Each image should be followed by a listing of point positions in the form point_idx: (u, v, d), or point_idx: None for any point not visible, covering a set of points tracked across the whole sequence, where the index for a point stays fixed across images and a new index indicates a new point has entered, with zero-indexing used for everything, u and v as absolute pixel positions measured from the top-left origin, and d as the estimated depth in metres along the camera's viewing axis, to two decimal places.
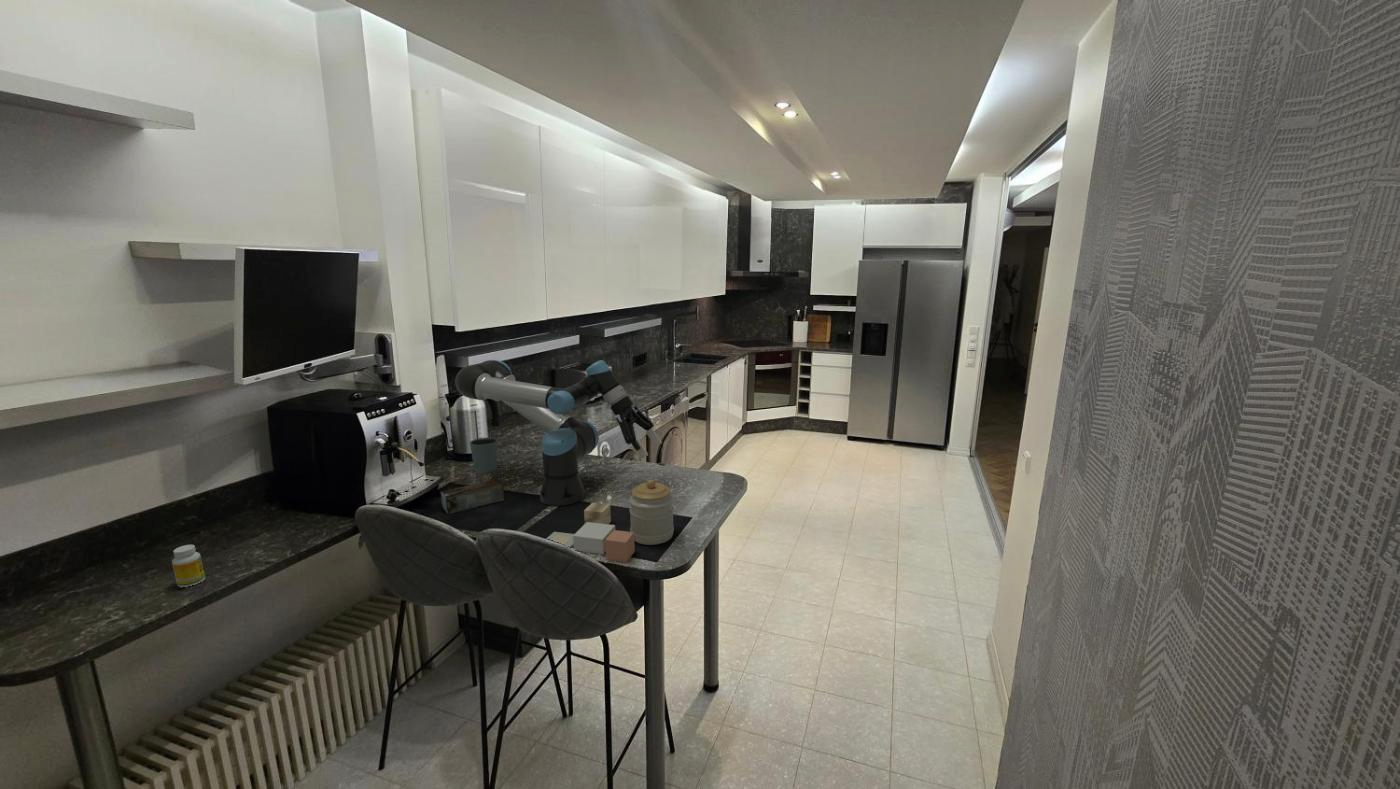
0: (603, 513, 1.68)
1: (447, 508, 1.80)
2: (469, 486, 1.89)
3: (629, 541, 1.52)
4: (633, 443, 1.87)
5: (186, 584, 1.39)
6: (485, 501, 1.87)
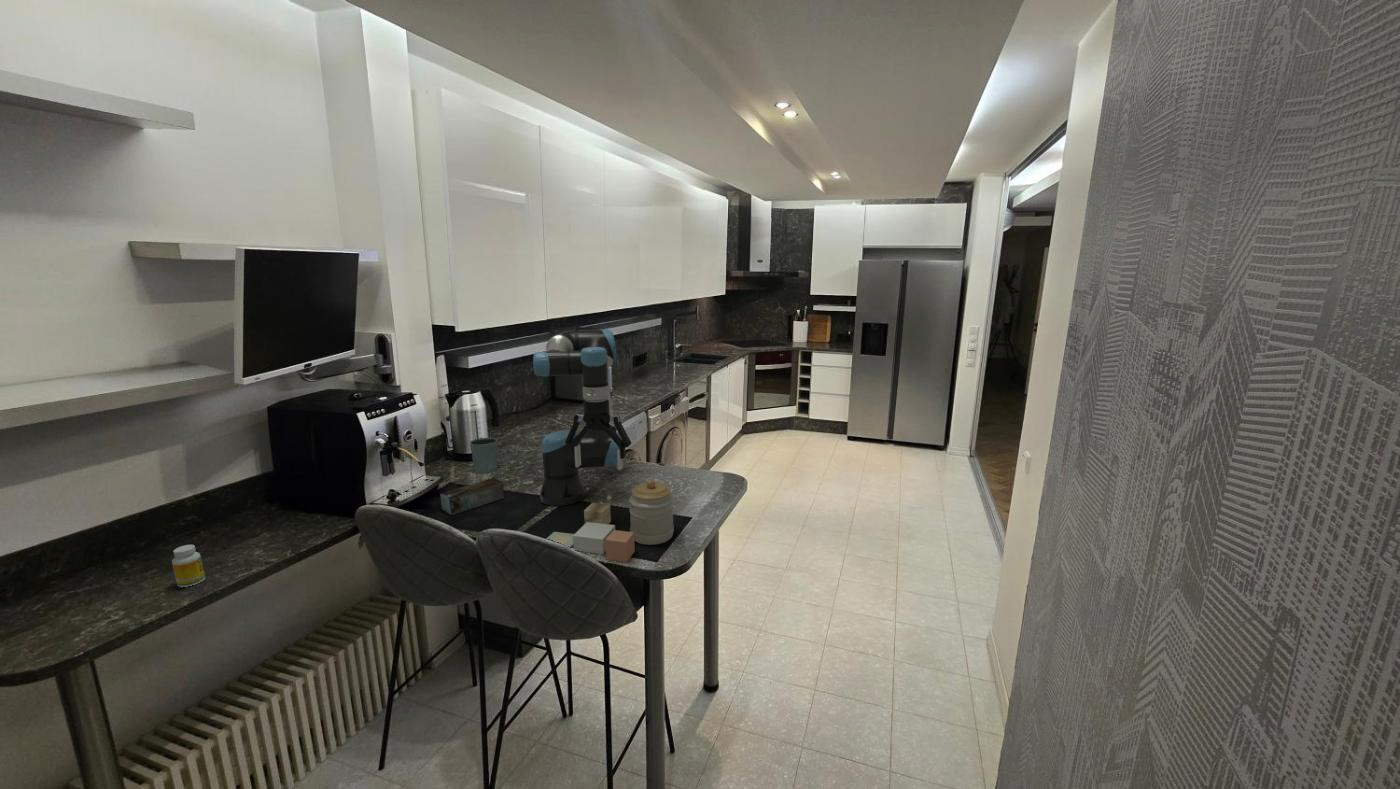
0: (603, 513, 1.68)
1: (451, 509, 1.79)
2: (468, 486, 1.88)
3: (629, 541, 1.52)
4: None
5: (186, 584, 1.39)
6: (487, 500, 1.88)
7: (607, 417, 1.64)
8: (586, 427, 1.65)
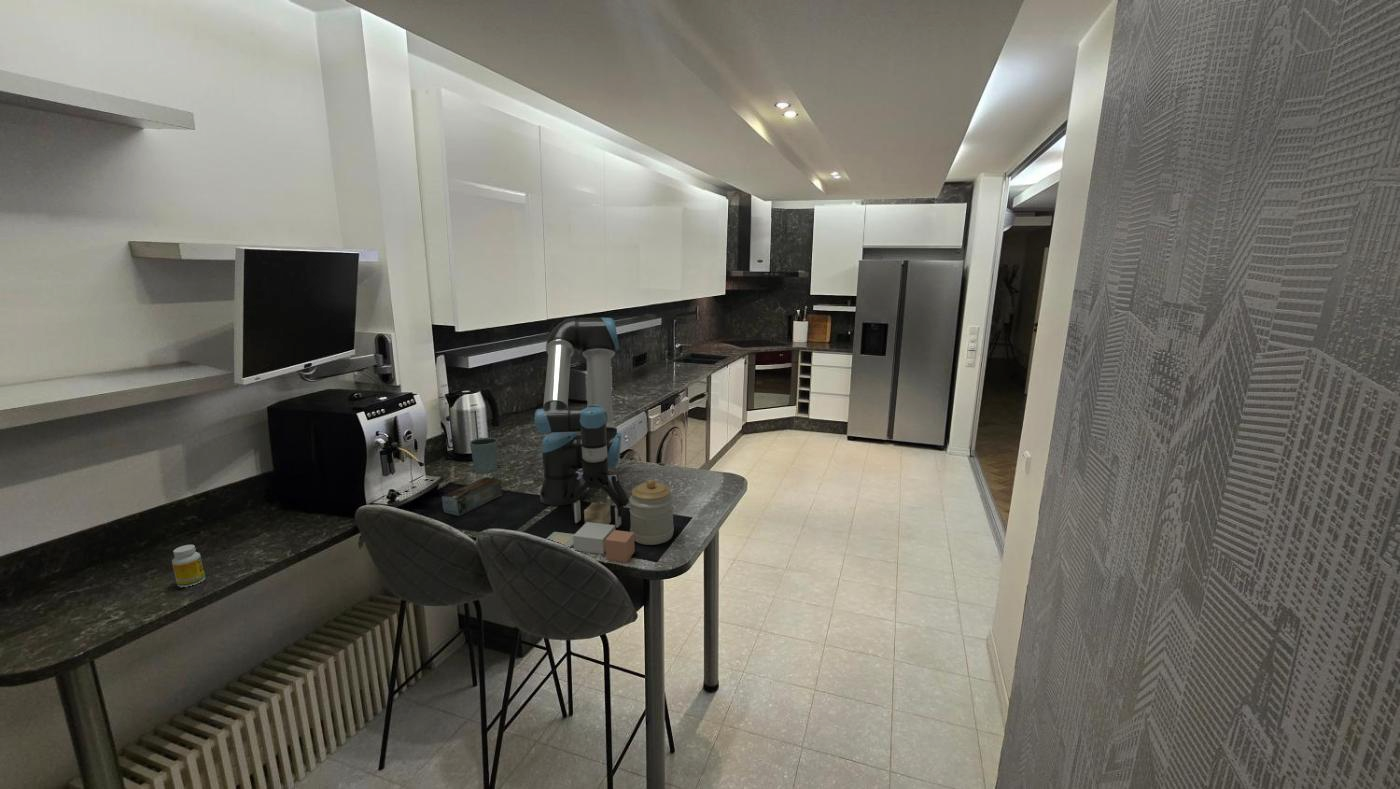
0: (603, 513, 1.68)
1: (458, 510, 1.79)
2: (466, 487, 1.88)
3: (629, 541, 1.52)
4: None
5: (186, 584, 1.39)
6: (488, 499, 1.89)
7: (605, 476, 1.67)
8: (585, 485, 1.68)
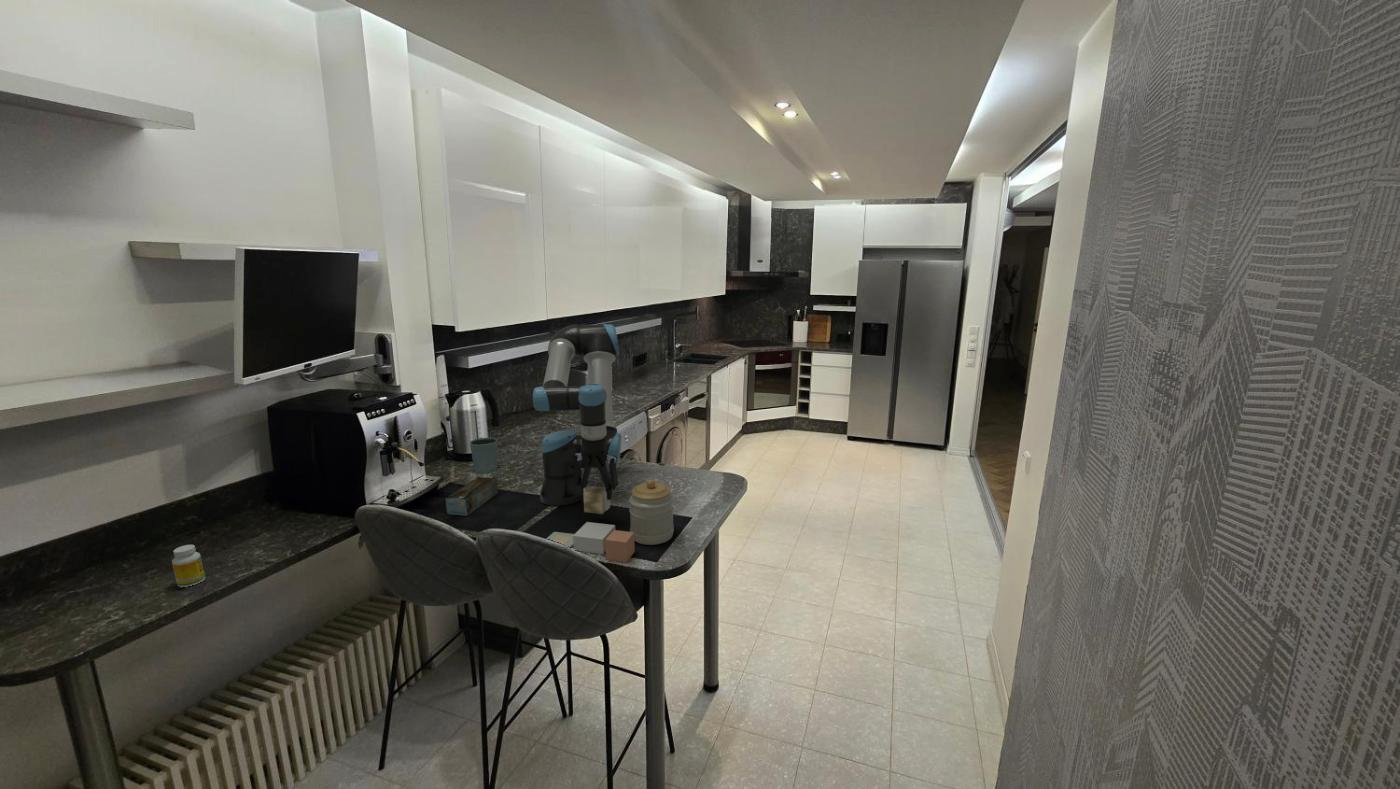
0: (602, 496, 1.68)
1: (467, 509, 1.79)
2: (465, 487, 1.87)
3: (629, 541, 1.52)
4: None
5: (186, 584, 1.39)
6: (488, 497, 1.90)
7: (605, 455, 1.66)
8: (586, 465, 1.67)
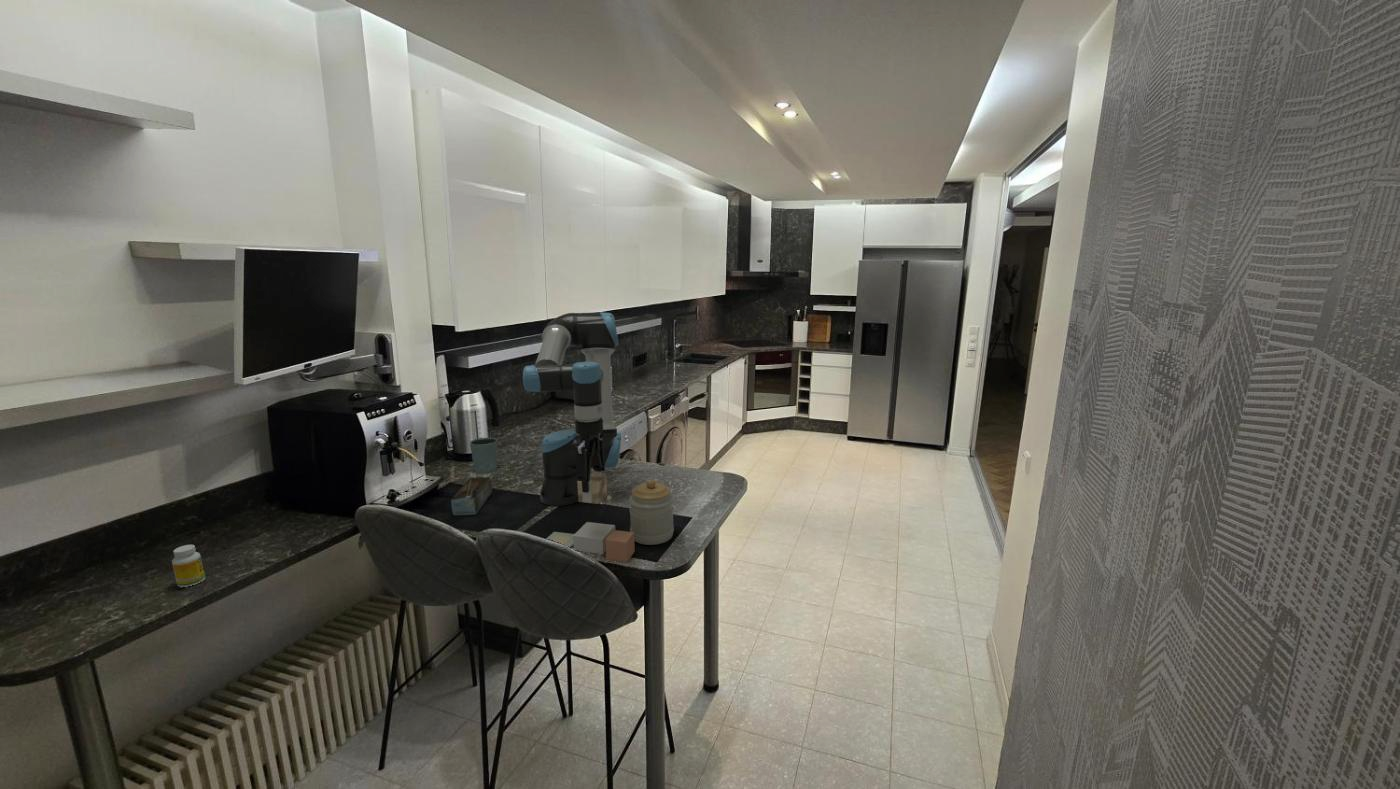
0: None
1: (475, 508, 1.80)
2: (465, 488, 1.87)
3: (629, 541, 1.52)
4: (584, 483, 1.51)
5: (186, 584, 1.39)
6: (487, 496, 1.92)
7: (598, 433, 1.56)
8: (593, 451, 1.51)
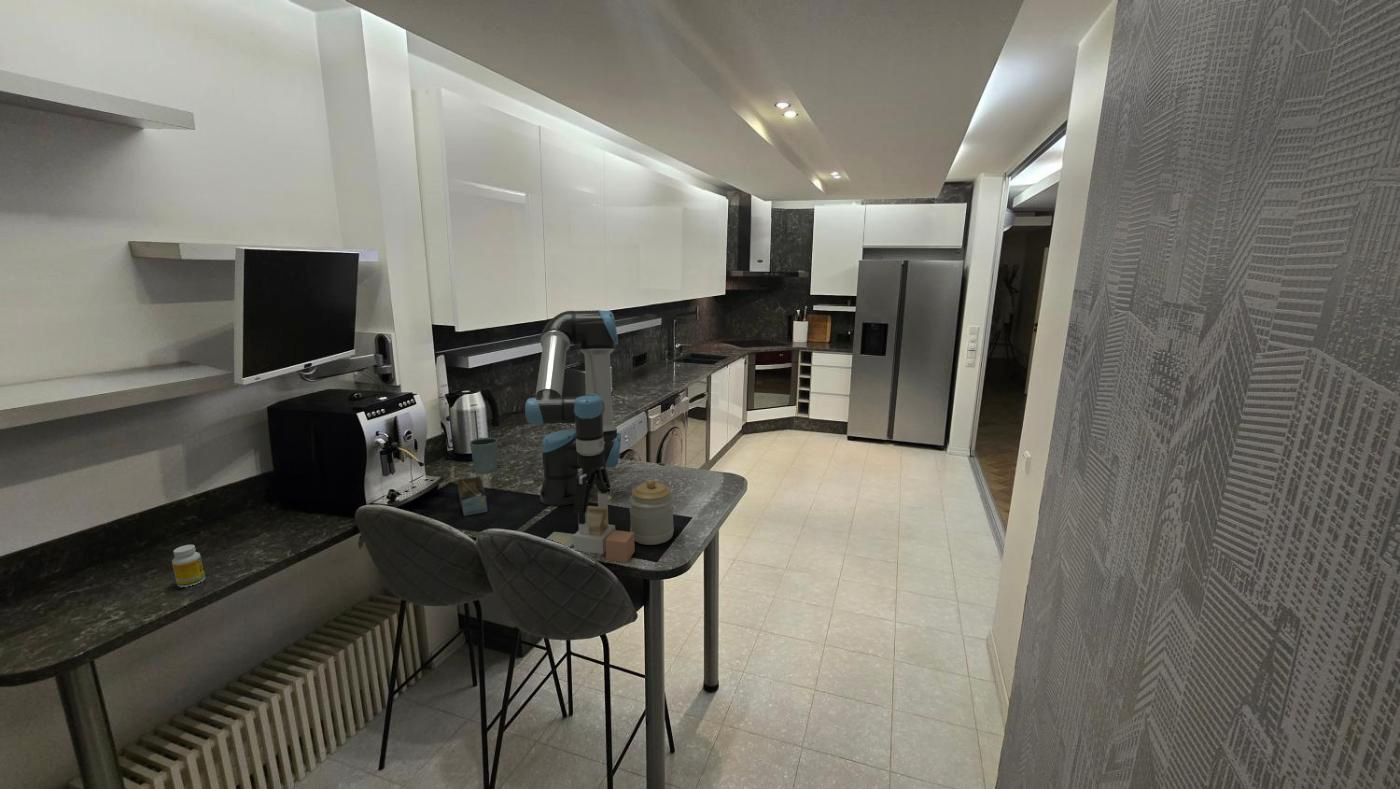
0: None
1: None
2: (464, 489, 1.86)
3: (629, 541, 1.52)
4: (580, 515, 1.50)
5: (186, 584, 1.39)
6: None
7: None
8: (593, 484, 1.53)
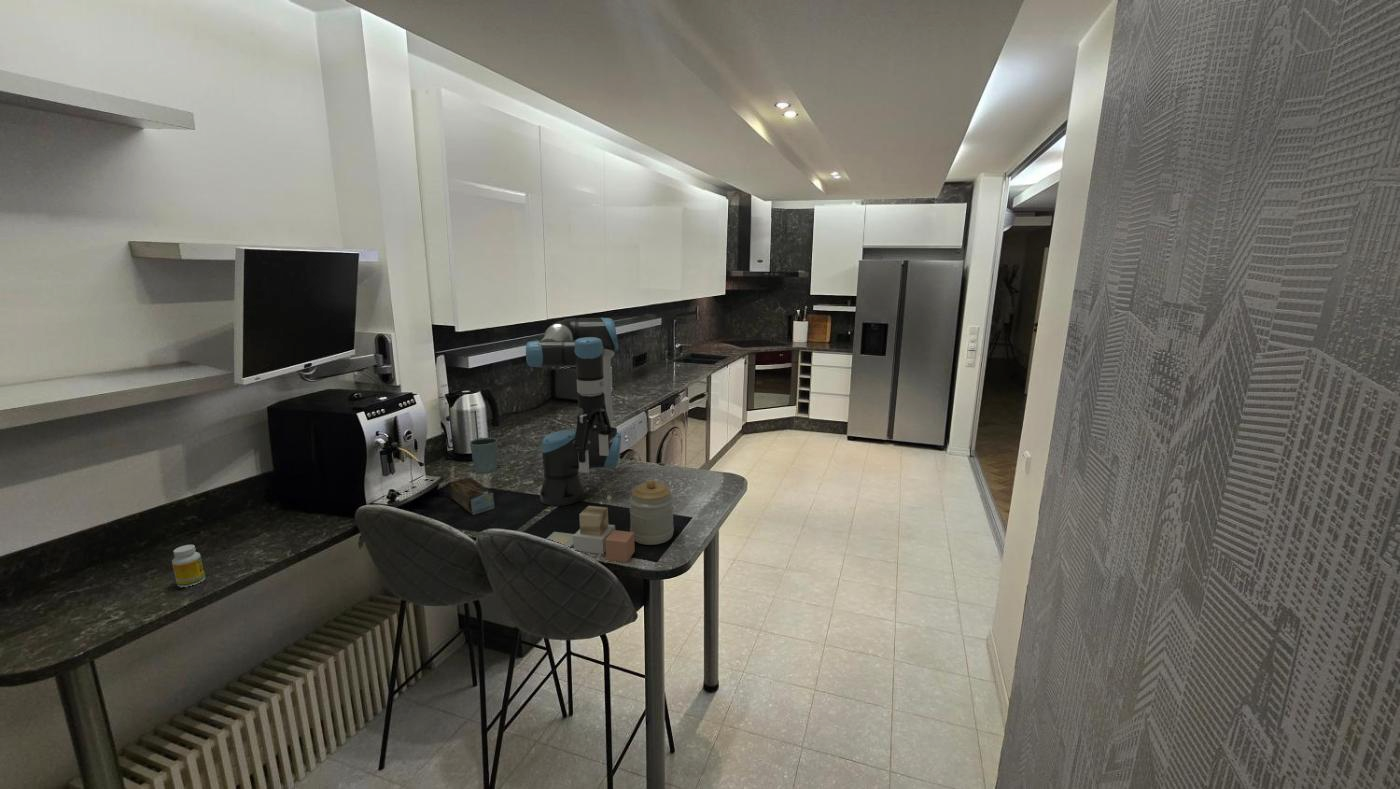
0: None
1: (493, 502, 1.84)
2: (465, 489, 1.86)
3: (629, 541, 1.52)
4: (580, 453, 1.52)
5: (186, 584, 1.39)
6: None
7: None
8: (593, 424, 1.55)
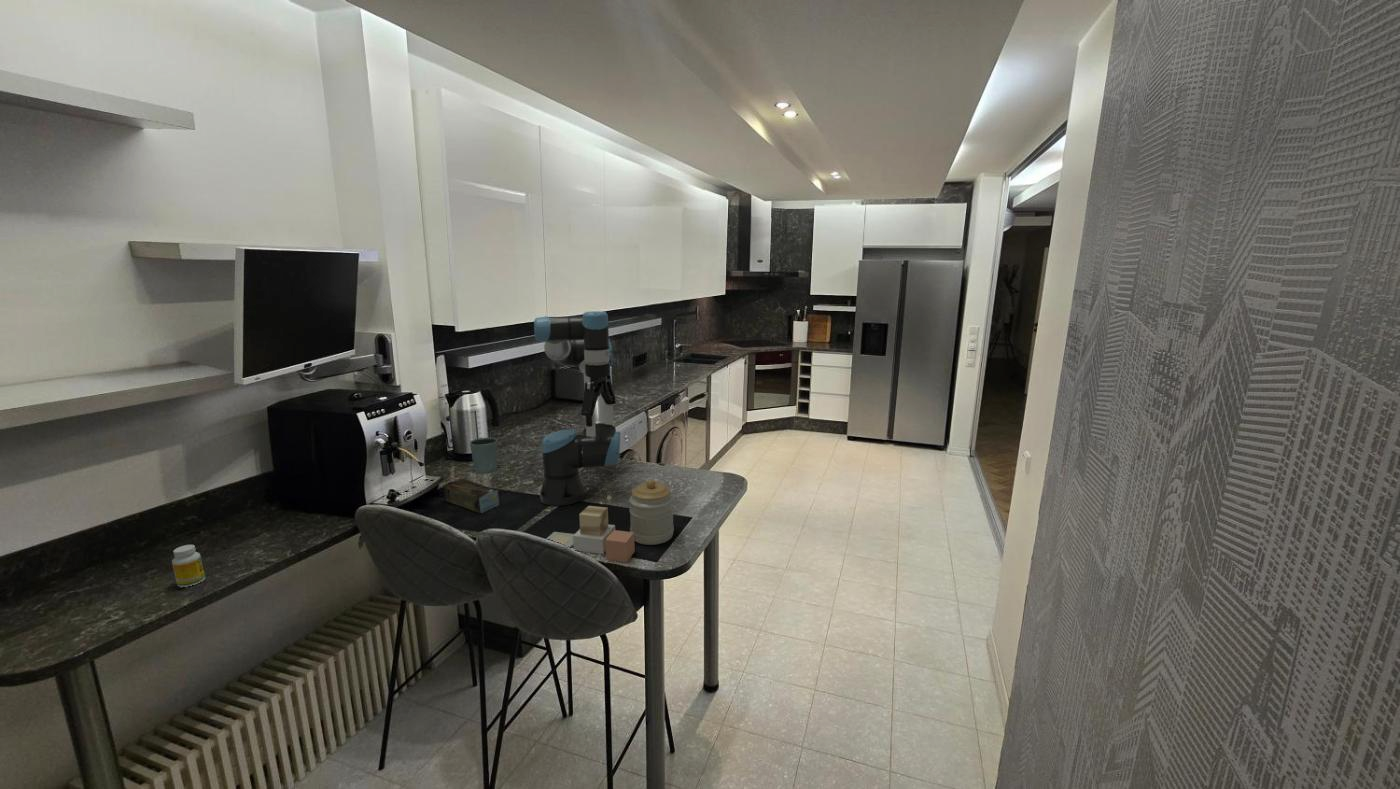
0: None
1: None
2: (466, 490, 1.85)
3: (629, 541, 1.52)
4: (587, 418, 1.64)
5: (186, 584, 1.39)
6: None
7: (605, 377, 1.73)
8: (599, 391, 1.67)
